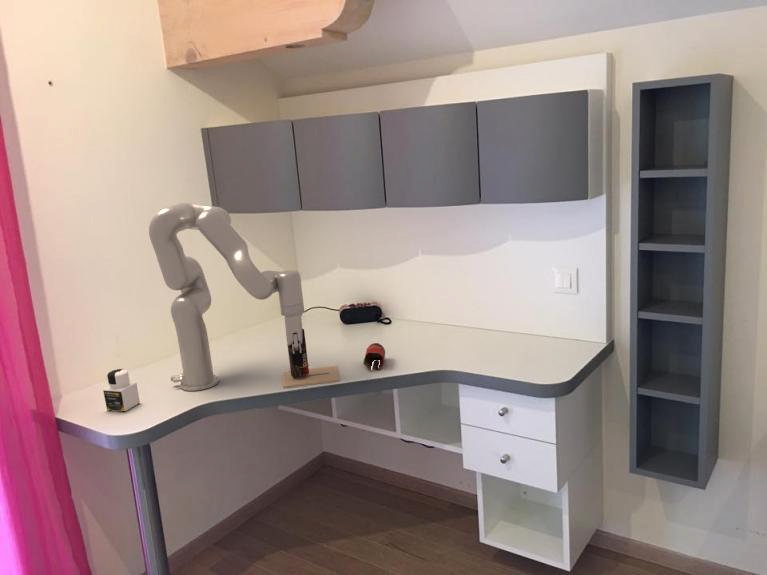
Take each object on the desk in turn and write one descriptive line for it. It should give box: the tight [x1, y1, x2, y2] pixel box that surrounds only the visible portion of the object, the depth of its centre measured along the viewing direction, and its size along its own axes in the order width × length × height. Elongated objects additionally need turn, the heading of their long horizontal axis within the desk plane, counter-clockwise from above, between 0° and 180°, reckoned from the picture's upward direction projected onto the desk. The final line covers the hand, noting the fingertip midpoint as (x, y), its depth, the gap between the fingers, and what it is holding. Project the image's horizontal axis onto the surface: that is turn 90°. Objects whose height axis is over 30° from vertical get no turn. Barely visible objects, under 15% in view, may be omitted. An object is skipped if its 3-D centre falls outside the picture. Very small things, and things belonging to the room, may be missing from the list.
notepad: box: [282, 365, 340, 389], centre depth 217 cm, size 18×14×1 cm
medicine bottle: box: [102, 368, 141, 412], centre depth 204 cm, size 7×7×12 cm
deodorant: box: [285, 328, 310, 377], centre depth 214 cm, size 6×6×15 cm
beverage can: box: [362, 342, 386, 371], centre depth 223 cm, size 7×12×7 cm, turn 177°
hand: (298, 361), depth 215 cm, fingers closed on deodorant, 5 cm apart
